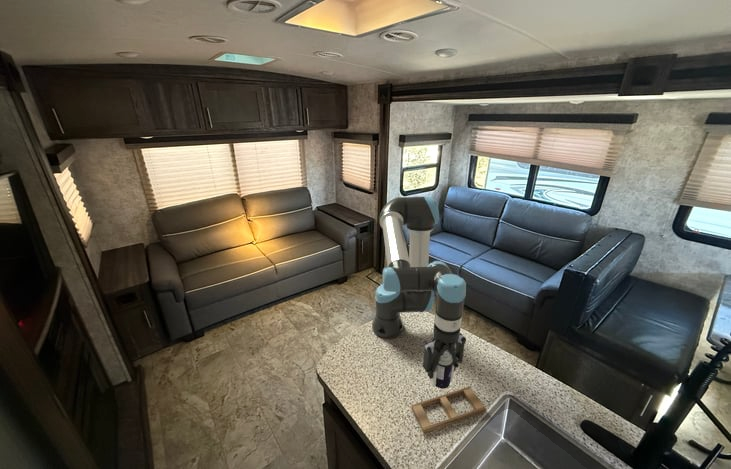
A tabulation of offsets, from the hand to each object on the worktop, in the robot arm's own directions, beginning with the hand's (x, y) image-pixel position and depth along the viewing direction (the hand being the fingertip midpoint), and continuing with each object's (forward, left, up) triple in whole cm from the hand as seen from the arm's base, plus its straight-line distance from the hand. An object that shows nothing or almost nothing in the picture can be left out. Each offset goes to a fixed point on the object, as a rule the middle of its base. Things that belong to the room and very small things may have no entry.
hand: (440, 380), depth 93 cm
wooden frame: (0, +4, -16) cm, 17 cm away
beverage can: (0, 0, -1) cm, 1 cm away
